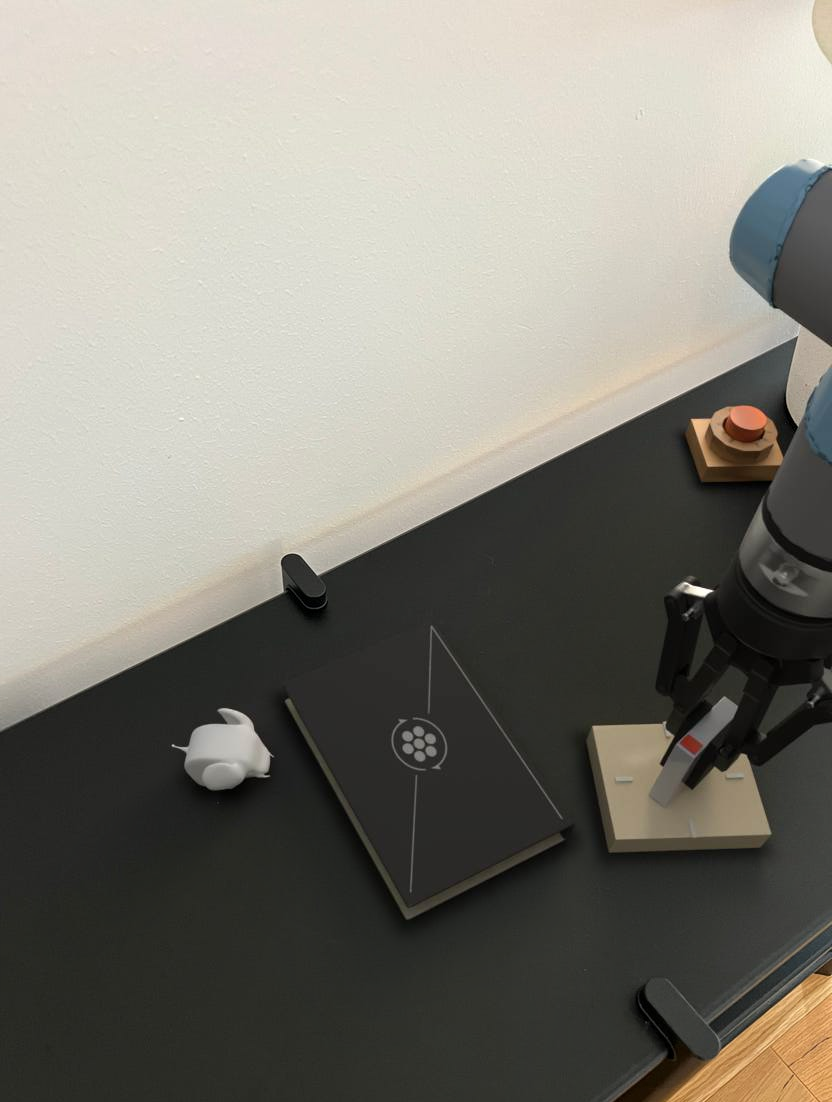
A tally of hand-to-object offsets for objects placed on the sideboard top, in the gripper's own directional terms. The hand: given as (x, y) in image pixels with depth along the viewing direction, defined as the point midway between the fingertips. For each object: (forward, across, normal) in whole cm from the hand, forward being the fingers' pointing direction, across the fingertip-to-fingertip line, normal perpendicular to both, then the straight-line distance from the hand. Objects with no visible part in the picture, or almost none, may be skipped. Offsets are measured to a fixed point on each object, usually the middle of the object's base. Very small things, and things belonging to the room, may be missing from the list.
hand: (686, 765), depth 76 cm
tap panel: (+4, 0, 0) cm, 4 cm away
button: (+1, -19, +36) cm, 41 cm away
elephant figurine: (+5, -26, -25) cm, 36 cm away
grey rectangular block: (+2, 0, 0) cm, 2 cm away
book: (+5, -15, -13) cm, 21 cm away
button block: (+4, -19, +36) cm, 41 cm away
